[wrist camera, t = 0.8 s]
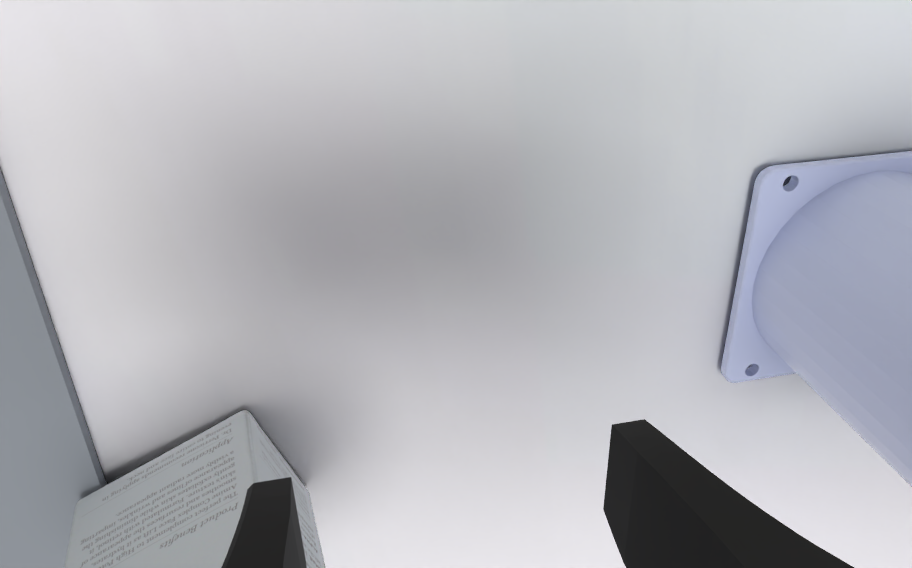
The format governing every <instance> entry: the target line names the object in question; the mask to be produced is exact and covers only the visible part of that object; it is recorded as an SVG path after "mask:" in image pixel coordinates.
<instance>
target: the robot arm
mask: <svg viewBox="0 0 912 568" xmlns="http://www.w3.org/2000/svg"><path fill="white" fill-rule="evenodd" d="M789 176H791V179H790V182H789V183H788V184H787V185H785V186H783V183H784V181H785V179H786V178H787V177H789ZM751 364H752V366H750V367H749V368H748V369H746V368H747V367H748V366H749V365H751ZM721 373H722V375H723V376H724V377H725V378H726V380H727V381H729V382H731V383H737V382H743V381H750V380H756V379H762V378H769V377H775V376H781V375H788V374H794V373H797V374H798V375H799V376H800V377H801V378H802V379H803V380H804V381H805V382H806V383H807V384H808V385H809V386H810V387H811V388H812V389H813V390H814V391H815V392H816V393H817V394H818V395H819V396H820V397H821V398H822V399H823V400H824V401H825V402H826V403H827V404H828V405H829V406H830V407H831V408H833V409H834V410H835V411H836V412H837V413H838V414H839V415H840V416H841V417H842V418H843V419H844V420H845V421H846V422H847V423H848V424H849V425H850V426H851V427H852V428H853V429H854V430H855V431H856V432H857V433H858V434H859V435H860V436H861V437H862V438H863V439H864V440H865V441H866V442H867V443H868V444H869V445H870V446H871V447H872V448H873V449H874V450H875V451H876V452H877V453H878V454H879V455H880V456H881V457H882V458H883V459H884V460H885V461H886V462H887V463H888V464H889V465H890V466H891V467H892V468H893V469H894V470H895V471H896V472H897V473H898V474H899V475H900V476H901V477H902V478H903V479H904V480H905V481H906V482H907V483H908V484H909V485H910V486H912V151H906V152H896V153H887V154H877V155H868V156H858V157H849V158H839V159H830V160H821V161H811V162H802V163H792V164H783V165H773V166H769V167H766V168H765V169H764V170H762V171H761V172H760V173H759V175H758V176H757V178H756V180H755V184H754V189H753V195H752V200H751V206H750V211H749V217H748V222H747V228H746V233H745V239H744V244H743V250H742V255H741V261H740V266H739V272H738V277H737V283H736V288H735V294H734V299H733V305H732V310H731V316H730V321H729V327H728V332H727V338H726V343H725V349H724V354H723V359H722V365H721ZM604 512H605V515H606V518H607V520H608V523H609V526H610V528H611V531H612V534H613V537H614V539H615V542H616V544H617V547H618V549H619V552H620V554H621V557H622V559H623V562H624V564H625V566H626V568H854V567H852V566H850V565H849V564H847V563H845V562H844V561H842V560H840V559H838V558H837V557H835V556H833V555H832V554H830V553H828V552H826V551H825V550H823V549H821V548H820V547H818V546H816V545H815V544H813V543H811V542H810V541H808V540H807V539H805V538H803V537H802V536H800V535H799V534H797V533H796V532H794V531H793V530H791V529H790V528H788V527H787V526H785V525H784V524H782V523H781V522H779V521H778V520H776V519H775V518H773V517H772V516H770V515H769V514H767V513H766V512H764V511H763V510H762V509H760V508H759V507H757V506H756V505H755V504H753V503H752V502H750V501H749V500H748V499H746V498H745V497H743V496H742V495H741V494H739V493H738V492H737V491H735V490H734V489H733V488H731V487H730V486H729V485H727V484H726V483H725V482H723V481H722V480H721V479H719V478H718V477H717V476H715V475H714V474H713V473H711V472H710V471H709V470H708V469H706V468H705V467H704V466H703V465H701V464H700V463H699V462H697V461H696V460H695V459H694V458H692V457H691V456H690V455H689V454H687V453H686V452H685V451H684V450H682V449H681V448H680V447H679V446H677V445H676V444H675V443H674V442H672V441H671V440H670V439H669V438H667V437H666V436H665V435H664V434H662V433H661V432H660V431H659V430H657V429H656V428H655V427H654V426H652V425H651V424H650V423H648V422H647V421H646V420H638V421H632V422H626V423H620V424H613V425H612V429H611V439H610V449H609V459H608V469H607V479H606V489H605V499H604ZM221 568H307V566H306V559H305V553H304V547H303V542H302V536H301V530H300V524H299V519H298V513H297V507H296V501H295V496H294V490H293V484H292V478H291V477H288V478H281V479H275V480H269V481H263V482H257V483H253V484H252V485H251V486H250V487H249V488H248V489H247V493H246V497H245V502H244V505H243V509H242V512H241V515H240V519H239V522H238V525H237V528H236V531H235V534H234V536H233V539H232V542H231V544H230V547H229V550H228V553H227V555H226V558H225V560H224V562H223V565H222V567H221Z"/></svg>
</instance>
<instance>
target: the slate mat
mask: <svg viewBox="0 0 912 568" xmlns="http://www.w3.org/2000/svg"><path fill="white" fill-rule="evenodd" d="M106 485H107V484H106V481H105V478H104V475H103V472H102V469H101V466H100V463H99V460H98V457H97V454H96V451H95V448H94V445H93V442H92V439H91V436H90V433H89V430H88V428H87V425H86V422H85V419H84V416H83V413H82V410H81V407H80V404H79V401H78V398H77V395H76V392H75V389H74V386H73V383H72V380H71V377H70V374H69V371H68V368H67V365H66V362H65V359H64V356H63V353H62V350H61V347H60V344H59V341H58V338H57V335H56V332H55V329H54V326H53V323H52V320H51V317H50V315H49V312H48V309H47V306H46V303H45V300H44V297H43V294H42V291H41V288H40V285H39V282H38V279H37V276H36V273H35V270H34V267H33V264H32V261H31V258H30V255H29V252H28V249H27V246H26V243H25V240H24V237H23V234H22V231H21V228H20V225H19V222H18V219H17V216H16V213H15V210H14V207H13V205H12V202H11V199H10V196H9V193H8V190H7V187H6V184H5V181H4V178H3V175H2V172H1V169H0V568H64V566H65V561H66V555H67V550H68V545H69V540H70V533H71V528H72V523H73V517H74V512H75V507H76V504H77V502H78V501H79V500H81V499H82V498H84V497H86V496H88V495H90V494H91V493H93V492H95V491H97V490H99V489H100V488H102V487H104V486H106Z"/></svg>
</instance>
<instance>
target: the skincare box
mask: <svg viewBox="0 0 912 568" xmlns="http://www.w3.org/2000/svg"><path fill="white" fill-rule="evenodd" d="M288 477H291V478H292V484H293V490H294V496H295V501H296V507H297V513H298V519H299V524H300V530H301V536H302V542H303V547H304V553H305V559H306V566H307V568H325V563H324V559H323V554H322V550H321V545H320V541H319V536H318V532H317V527H316V523H315V519H314V514H313V510H312V506H311V500H310V495H309V492H308V490H307V489H306V488H305V486H304V485H303V484H302V482H301V481H300V480H299V478H298V477H297V476H296V474H295V473H294V471H293V470H292V468H291V467H290V466H289V464H288V463H287V462H286V460H285V459H284V458H283V456H282V455H281V454H280V453H279V451H278V450H277V448H276V447H275V446H274V445H273V443H272V442H271V440H270V439H269V438H268V437H267V435H266V434H265V433H264V431H263V430H262V429H261V427H260V426H259V425H258V423H257V422H256V420H255V419H254V417H253V416H252V415H251V413H250V412H249V411H246V410H243V411H240V412H238V413H236V414H235V415H233V416H231V417H229V418H227V419H226V420H224V421H222V422H220V423H219V424H217V425H215V426H213V427H211V428H210V429H208V430H206V431H204V432H202V433H200V434H199V435H197V436H195V437H193V438H191V439H190V440H188V441H186V442H184V443H182V444H181V445H179V446H177V447H175V448H173V449H171V450H170V451H168V452H166V453H164V454H162V455H161V456H159V457H157V458H155V459H153V460H151V461H150V462H148V463H146V464H144V465H142V466H140V467H139V468H137V469H135V470H133V471H131V472H129V473H128V474H126V475H124V476H122V477H120V478H119V479H117V480H115V481H113V482H111V483H109V484H108V485H106V486H104V487H102V488H100V489H99V490H97V491H95V492H93V493H91V494H90V495H88V496H86V497H84V498H82V499H81V500H79V501H78V502H77V504H76V507H75V512H74V517H73V523H72V528H71V533H70V540H69V545H68V550H67V555H66V561H65V566H64V568H221V567H222V565H223V562H224V560H225V558H226V555H227V553H228V550H229V547H230V544H231V542H232V539H233V536H234V534H235V531H236V528H237V525H238V522H239V519H240V515H241V512H242V509H243V505H244V502H245V497H246V493H247V489H248V488H249V487H250V486H251V485H252V484H253V483H257V482H263V481H269V480H275V479H281V478H288Z"/></svg>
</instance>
